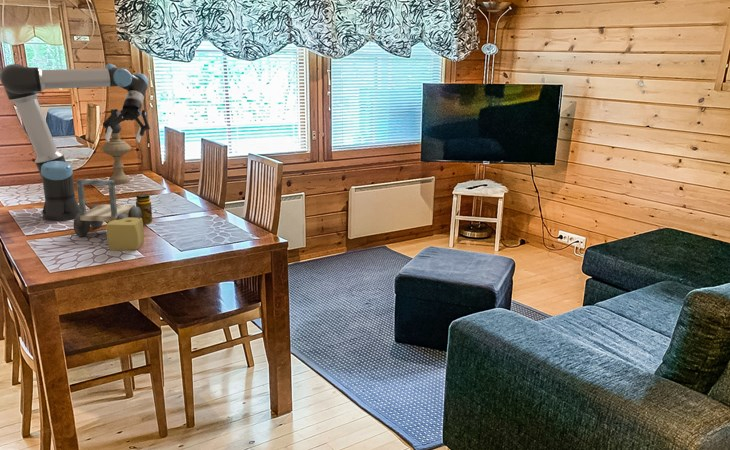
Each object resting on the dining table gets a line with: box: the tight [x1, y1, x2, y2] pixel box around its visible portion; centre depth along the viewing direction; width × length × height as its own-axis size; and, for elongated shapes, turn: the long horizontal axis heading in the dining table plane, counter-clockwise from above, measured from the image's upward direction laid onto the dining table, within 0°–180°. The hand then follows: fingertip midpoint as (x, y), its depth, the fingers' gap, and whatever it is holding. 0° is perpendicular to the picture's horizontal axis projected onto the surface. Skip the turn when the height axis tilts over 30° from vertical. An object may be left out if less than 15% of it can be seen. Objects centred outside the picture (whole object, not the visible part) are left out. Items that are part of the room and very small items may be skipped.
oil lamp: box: [101, 109, 132, 185], centre depth 314 cm, size 15×15×40 cm
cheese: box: [105, 218, 145, 251], centre depth 213 cm, size 10×11×10 cm
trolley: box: [73, 178, 142, 237], centre depth 228 cm, size 18×21×23 cm
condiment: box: [135, 193, 155, 225], centre depth 243 cm, size 7×8×12 cm
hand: (122, 140), depth 250 cm, fingers open, 13 cm apart
